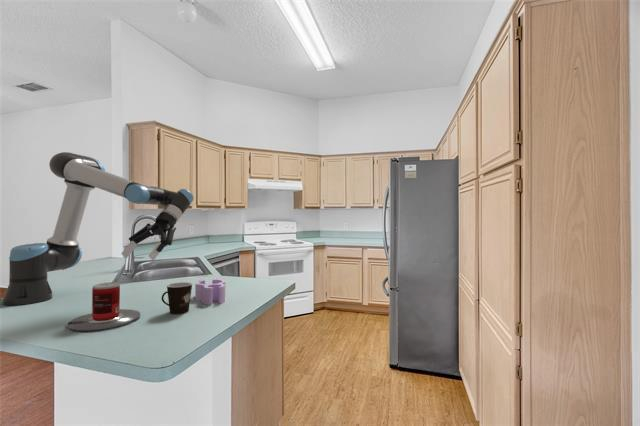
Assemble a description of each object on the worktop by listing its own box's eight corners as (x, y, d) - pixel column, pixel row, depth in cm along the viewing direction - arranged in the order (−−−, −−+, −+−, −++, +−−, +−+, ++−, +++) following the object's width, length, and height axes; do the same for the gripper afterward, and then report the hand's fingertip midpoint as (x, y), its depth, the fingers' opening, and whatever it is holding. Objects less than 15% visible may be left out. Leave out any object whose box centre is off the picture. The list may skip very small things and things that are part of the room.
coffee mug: (186, 307, 121) (186, 281, 121) (195, 311, 115) (196, 284, 115) (154, 313, 113) (154, 285, 113) (162, 318, 107) (162, 289, 107)
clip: (231, 302, 128) (231, 286, 129) (199, 306, 122) (199, 289, 122) (221, 292, 146) (221, 277, 146) (193, 295, 140) (193, 280, 140)
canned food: (114, 312, 110) (115, 281, 110) (123, 316, 105) (123, 284, 105) (88, 317, 104) (89, 284, 104) (96, 322, 99) (96, 288, 99)
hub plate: (51, 327, 98) (51, 323, 98) (111, 309, 117) (111, 306, 117) (98, 335, 92) (98, 331, 92) (153, 315, 111) (153, 311, 111)
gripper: (196, 224, 131) (168, 264, 117) (151, 222, 139) (119, 260, 125) (188, 211, 126) (157, 252, 112) (141, 210, 134) (106, 248, 120)
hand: (137, 256), depth 118 cm, fingers open, 13 cm apart
